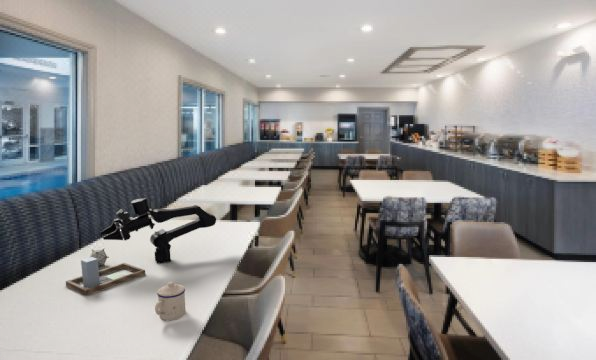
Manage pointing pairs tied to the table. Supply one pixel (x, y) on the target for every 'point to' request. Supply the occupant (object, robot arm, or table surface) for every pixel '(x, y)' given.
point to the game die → (99, 256)
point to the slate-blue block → (90, 272)
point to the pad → (115, 276)
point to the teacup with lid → (171, 302)
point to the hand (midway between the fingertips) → (101, 236)
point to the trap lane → (106, 279)
